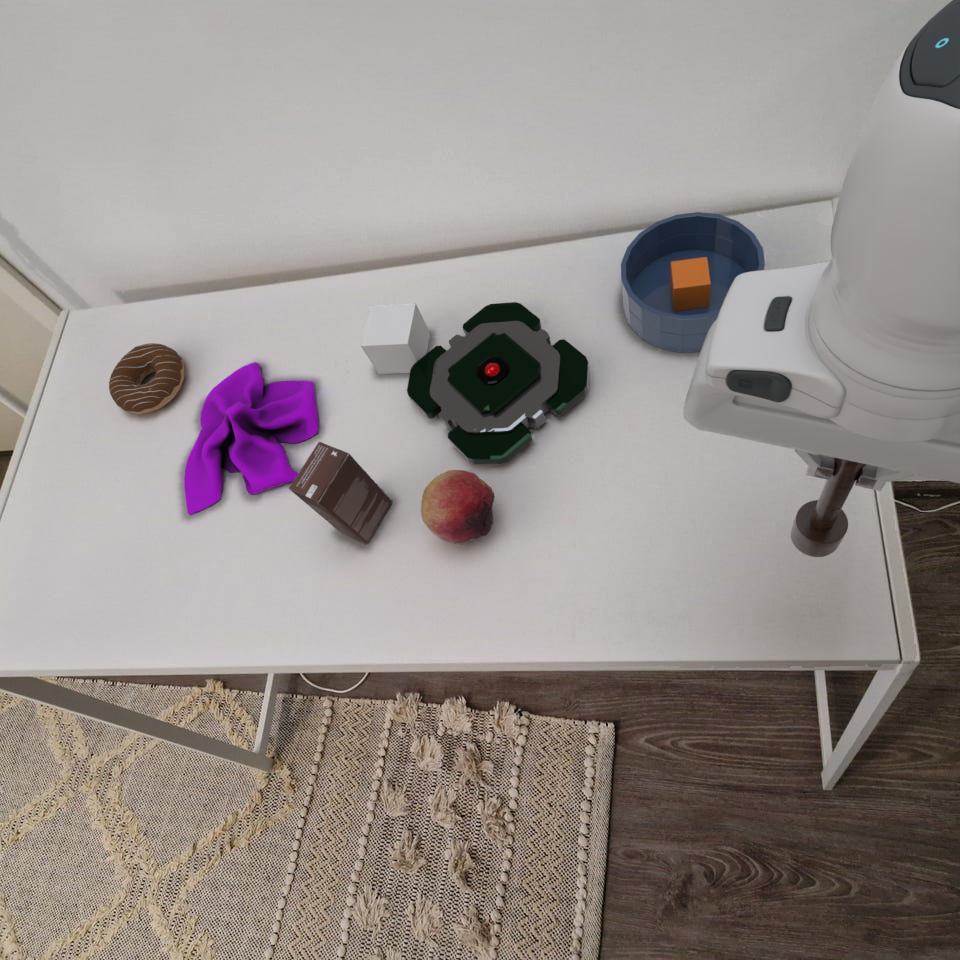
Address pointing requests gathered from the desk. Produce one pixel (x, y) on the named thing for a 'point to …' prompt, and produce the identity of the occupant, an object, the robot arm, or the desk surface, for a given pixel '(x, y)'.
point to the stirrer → (826, 513)
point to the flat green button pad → (498, 382)
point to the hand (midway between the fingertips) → (843, 473)
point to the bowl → (651, 275)
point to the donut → (134, 371)
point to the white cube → (395, 337)
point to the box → (341, 492)
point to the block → (690, 284)
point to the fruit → (458, 506)
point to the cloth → (248, 434)
